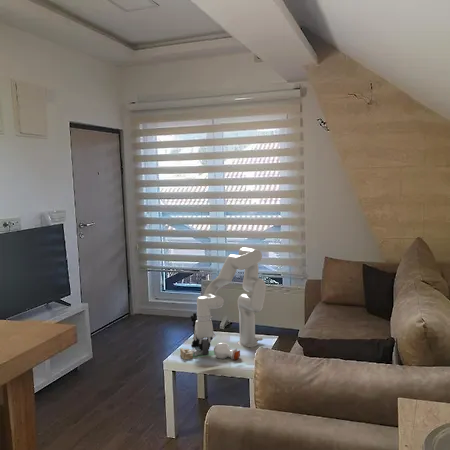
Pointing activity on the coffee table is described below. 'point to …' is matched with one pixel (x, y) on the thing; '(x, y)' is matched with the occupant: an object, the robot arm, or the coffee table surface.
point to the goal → (185, 354)
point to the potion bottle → (225, 351)
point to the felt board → (204, 355)
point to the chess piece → (194, 318)
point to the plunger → (204, 347)
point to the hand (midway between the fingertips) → (204, 348)
